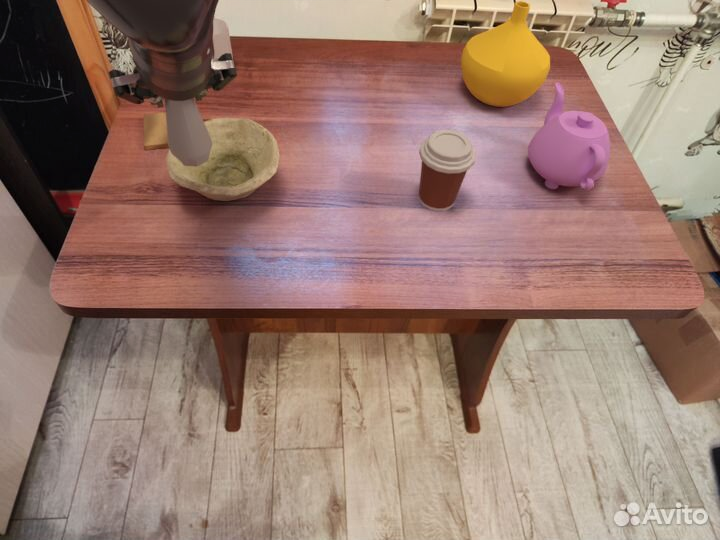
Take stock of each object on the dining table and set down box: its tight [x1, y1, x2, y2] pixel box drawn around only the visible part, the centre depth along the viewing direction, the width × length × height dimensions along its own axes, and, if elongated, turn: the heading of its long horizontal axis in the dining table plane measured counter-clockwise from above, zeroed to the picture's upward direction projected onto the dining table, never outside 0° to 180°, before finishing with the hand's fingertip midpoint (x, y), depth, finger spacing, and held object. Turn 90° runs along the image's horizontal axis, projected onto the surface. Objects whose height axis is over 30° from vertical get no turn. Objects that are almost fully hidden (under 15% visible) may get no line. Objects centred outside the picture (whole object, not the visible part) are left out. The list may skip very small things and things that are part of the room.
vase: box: [460, 0, 551, 108], centre depth 101 cm, size 18×18×19 cm
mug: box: [213, 15, 234, 62], centre depth 104 cm, size 12×9×9 cm
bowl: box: [165, 117, 280, 202], centre depth 80 cm, size 14×18×15 cm
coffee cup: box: [417, 129, 477, 212], centre depth 81 cm, size 9×9×12 cm
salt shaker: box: [164, 97, 212, 167], centre depth 64 cm, size 6×6×13 cm
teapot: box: [527, 81, 611, 191], centre depth 88 cm, size 20×14×12 cm
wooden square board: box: [143, 111, 169, 151], centre depth 93 cm, size 10×10×1 cm
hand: (177, 96), depth 64 cm, fingers closed on salt shaker, 4 cm apart
